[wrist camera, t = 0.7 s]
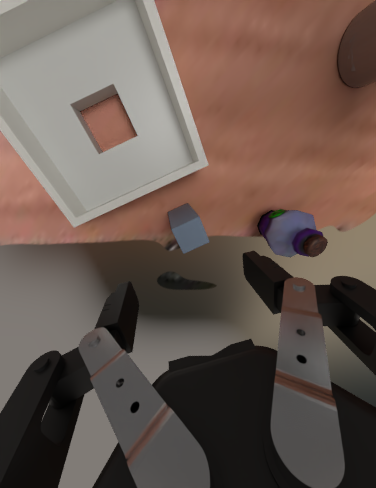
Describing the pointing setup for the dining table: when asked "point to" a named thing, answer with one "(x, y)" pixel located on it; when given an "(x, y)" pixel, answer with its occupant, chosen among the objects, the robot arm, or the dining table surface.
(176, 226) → the peg
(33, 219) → the dining table surface
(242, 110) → the dining table surface
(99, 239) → the dining table surface
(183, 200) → the dining table surface
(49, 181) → the walled box
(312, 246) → the potion bottle
